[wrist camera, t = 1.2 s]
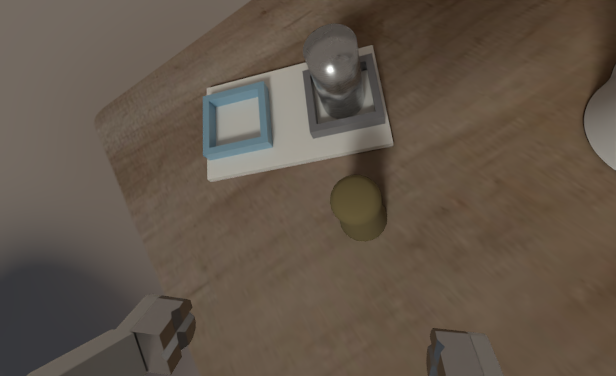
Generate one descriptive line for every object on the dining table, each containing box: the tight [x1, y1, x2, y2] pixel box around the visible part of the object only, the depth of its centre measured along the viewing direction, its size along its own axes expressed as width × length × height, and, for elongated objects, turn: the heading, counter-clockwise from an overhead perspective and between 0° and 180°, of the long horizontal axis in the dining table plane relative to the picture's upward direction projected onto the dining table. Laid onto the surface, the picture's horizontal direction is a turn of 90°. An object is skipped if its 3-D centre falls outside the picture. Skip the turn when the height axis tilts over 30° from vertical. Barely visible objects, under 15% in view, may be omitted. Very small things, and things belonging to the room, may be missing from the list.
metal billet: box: [303, 24, 365, 119], centre depth 40 cm, size 6×6×11 cm
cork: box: [330, 175, 387, 241], centre depth 35 cm, size 6×6×11 cm
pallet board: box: [203, 45, 393, 182], centre depth 46 cm, size 27×16×3 cm, turn 97°
